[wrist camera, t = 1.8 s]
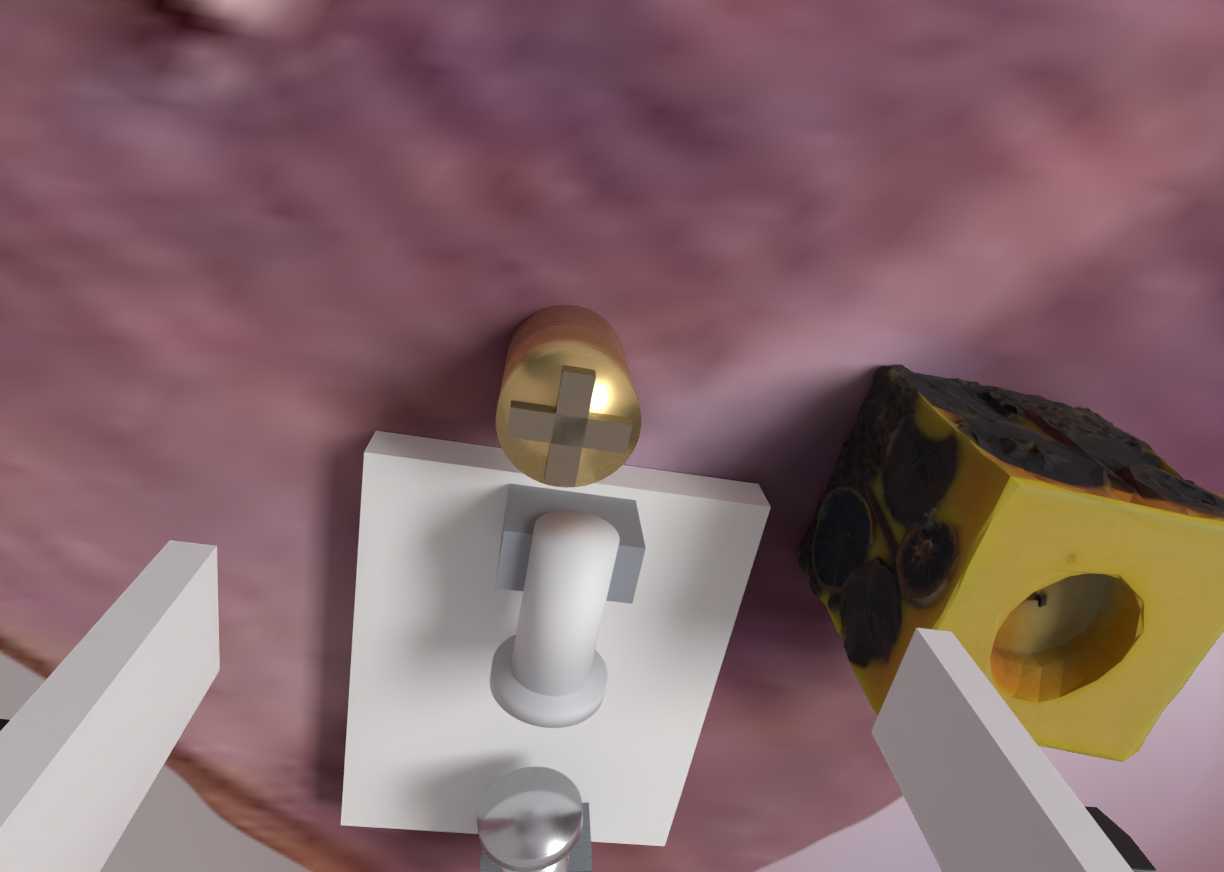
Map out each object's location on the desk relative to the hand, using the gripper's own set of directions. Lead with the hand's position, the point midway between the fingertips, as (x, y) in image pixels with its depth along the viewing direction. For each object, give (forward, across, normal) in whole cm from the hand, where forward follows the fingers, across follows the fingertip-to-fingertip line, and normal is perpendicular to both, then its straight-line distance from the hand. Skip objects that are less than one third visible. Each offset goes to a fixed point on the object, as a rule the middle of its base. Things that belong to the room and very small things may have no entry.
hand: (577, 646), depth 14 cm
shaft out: (+14, +2, -21) cm, 25 cm away
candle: (+17, +17, -3) cm, 24 cm away
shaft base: (+16, +1, -14) cm, 21 cm away
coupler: (+16, 0, 0) cm, 16 cm away
